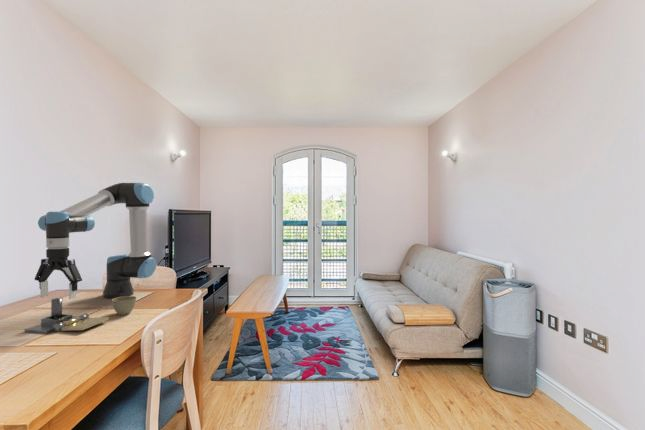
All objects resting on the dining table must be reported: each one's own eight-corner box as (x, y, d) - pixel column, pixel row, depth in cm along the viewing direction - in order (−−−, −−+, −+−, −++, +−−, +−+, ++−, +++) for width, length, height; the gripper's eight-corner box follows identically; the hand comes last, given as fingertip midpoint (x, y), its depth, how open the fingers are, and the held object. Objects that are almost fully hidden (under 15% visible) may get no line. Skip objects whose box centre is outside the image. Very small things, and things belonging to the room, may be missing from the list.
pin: (56, 321, 138) (56, 297, 138) (64, 321, 138) (64, 298, 138) (48, 323, 135) (49, 300, 135) (56, 324, 135) (57, 300, 135)
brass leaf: (82, 320, 142) (81, 314, 142) (108, 319, 141) (108, 313, 141) (53, 331, 129) (53, 324, 129) (83, 330, 128) (82, 323, 128)
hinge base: (66, 317, 146) (66, 309, 146) (92, 319, 144) (92, 311, 144) (24, 331, 128) (24, 323, 128) (53, 334, 127) (54, 325, 127)
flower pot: (140, 310, 158) (141, 296, 158) (126, 317, 148) (126, 301, 148) (122, 309, 159) (122, 295, 159) (106, 316, 149) (106, 300, 149)
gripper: (22, 248, 134) (23, 298, 135) (76, 249, 131) (76, 301, 132) (40, 245, 142) (41, 293, 142) (91, 247, 139) (92, 296, 139)
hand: (58, 297), depth 137 cm, fingers open, 13 cm apart
